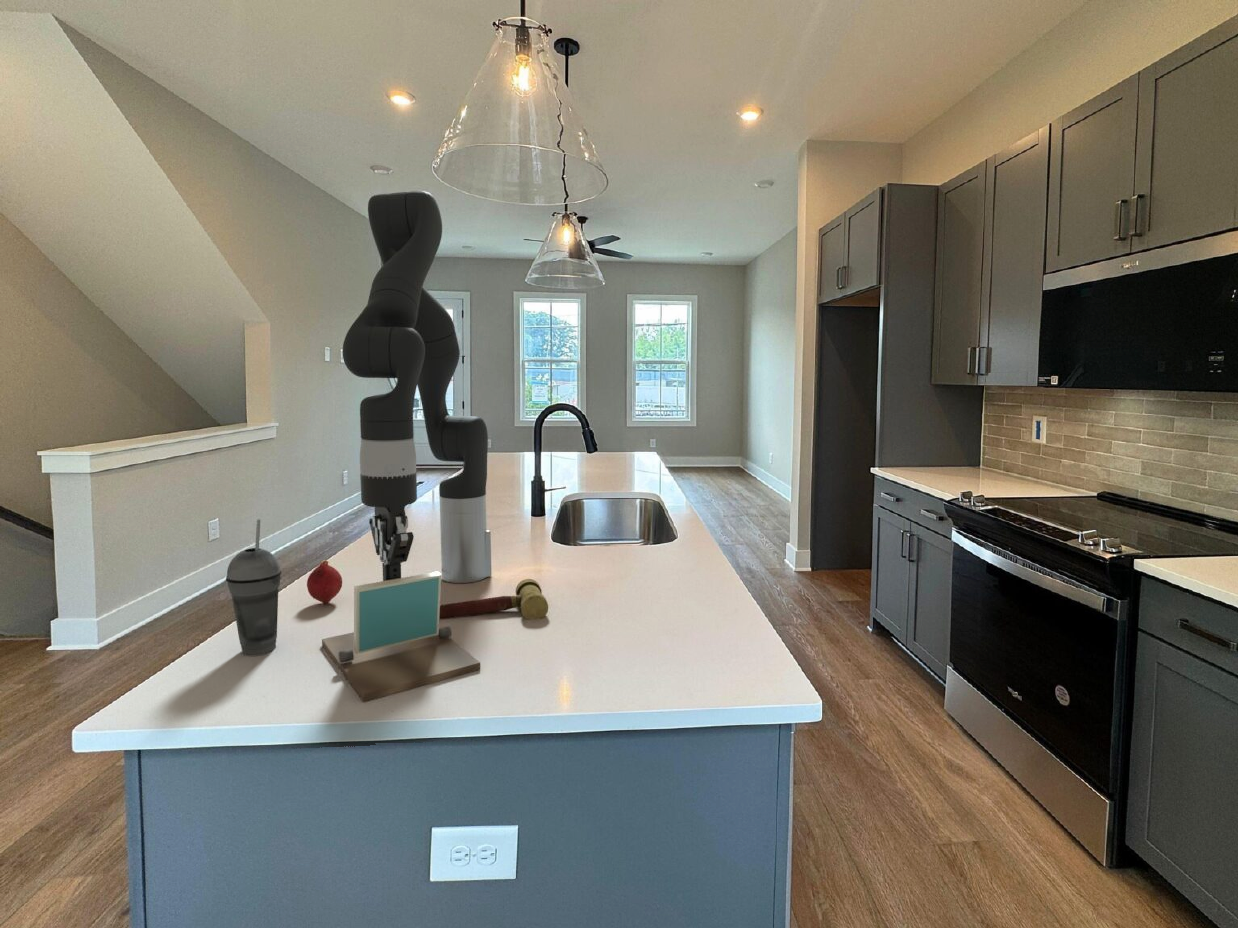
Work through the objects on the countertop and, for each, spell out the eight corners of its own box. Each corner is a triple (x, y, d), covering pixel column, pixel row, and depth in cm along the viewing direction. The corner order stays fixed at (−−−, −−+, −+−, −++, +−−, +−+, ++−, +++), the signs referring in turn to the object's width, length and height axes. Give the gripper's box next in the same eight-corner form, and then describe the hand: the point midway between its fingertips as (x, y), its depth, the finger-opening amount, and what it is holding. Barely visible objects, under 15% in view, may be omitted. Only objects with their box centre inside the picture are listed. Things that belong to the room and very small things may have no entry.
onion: (329, 609, 116) (327, 565, 115) (300, 607, 117) (298, 563, 116) (349, 599, 121) (347, 557, 120) (321, 596, 122) (319, 555, 121)
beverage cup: (245, 640, 102) (236, 514, 99) (294, 639, 102) (286, 514, 100) (221, 660, 95) (211, 525, 92) (273, 658, 95) (264, 524, 93)
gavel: (420, 612, 106) (422, 593, 116) (423, 639, 107) (424, 617, 117) (547, 593, 112) (539, 576, 121) (549, 619, 112) (541, 600, 122)
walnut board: (424, 622, 110) (423, 606, 109) (480, 669, 92) (480, 650, 92) (322, 645, 100) (321, 627, 100) (363, 701, 83) (362, 680, 82)
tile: (438, 571, 97) (441, 575, 96) (435, 630, 100) (438, 635, 99) (354, 586, 90) (356, 590, 89) (353, 649, 93) (356, 654, 92)
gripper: (431, 474, 89) (434, 596, 92) (399, 462, 100) (403, 571, 102) (375, 479, 85) (379, 606, 88) (348, 465, 95) (353, 579, 98)
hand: (392, 587), depth 95 cm, fingers closed
